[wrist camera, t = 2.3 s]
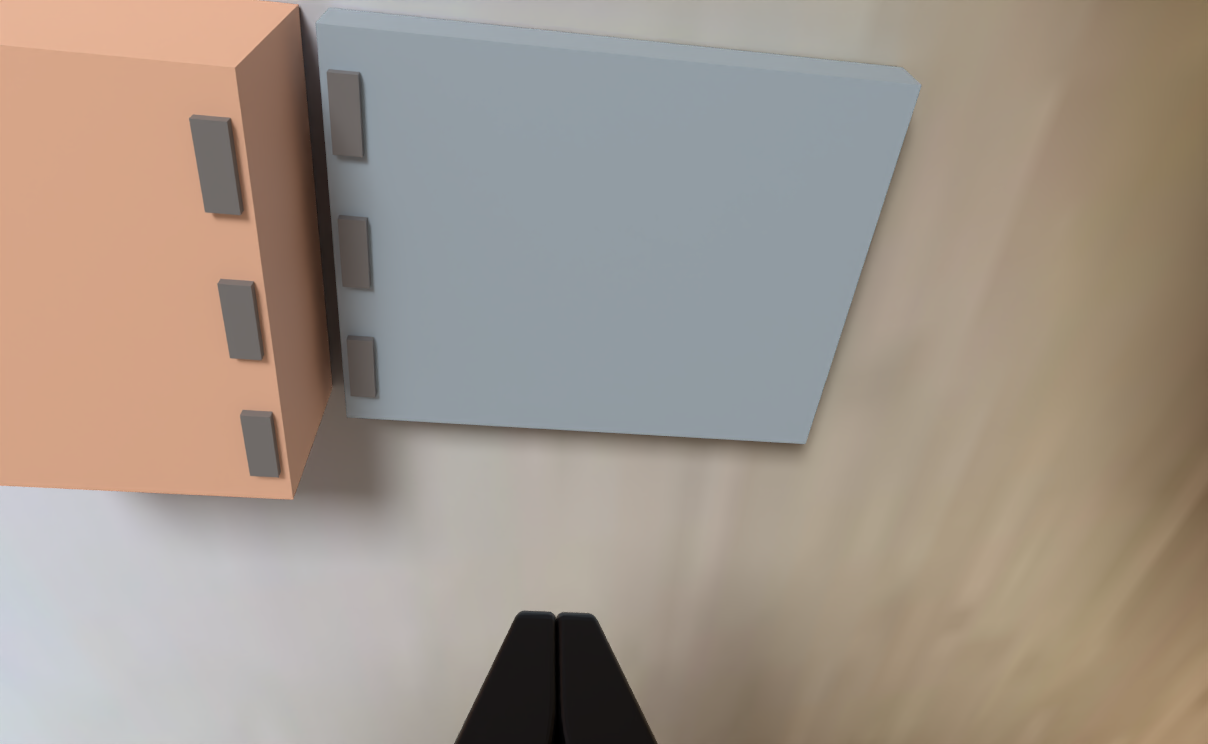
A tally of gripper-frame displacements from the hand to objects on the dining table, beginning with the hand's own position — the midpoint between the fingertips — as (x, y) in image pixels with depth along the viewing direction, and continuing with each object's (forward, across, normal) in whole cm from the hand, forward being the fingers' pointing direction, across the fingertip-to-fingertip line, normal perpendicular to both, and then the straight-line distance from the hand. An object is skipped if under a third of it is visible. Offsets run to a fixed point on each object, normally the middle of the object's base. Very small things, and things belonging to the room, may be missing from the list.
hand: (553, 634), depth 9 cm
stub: (+9, +8, 0) cm, 12 cm away
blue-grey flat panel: (+10, -1, 0) cm, 10 cm away
